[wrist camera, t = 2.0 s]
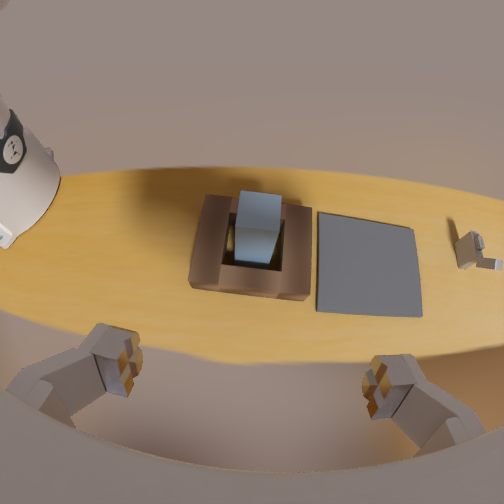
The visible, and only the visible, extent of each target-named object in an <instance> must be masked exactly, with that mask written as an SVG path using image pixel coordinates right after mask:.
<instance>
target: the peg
mask: <svg viewBox="0 0 504 504" xmlns="http://www.w3.org/2000/svg"><path fill="white" fill-rule="evenodd" d="M281 201H282V195H275V194H267V193H259V192H251V191H243V190H241V192H240V199H239V205H238V212H237V218H236V224H235V265H236V266H244V267H252V268H260V269H268V266H269V263H270V260H271V256H272V253H273V250H274V247H275V244H276V241H277V238H278V235H279V231H280V217H281Z"/></svg>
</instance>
